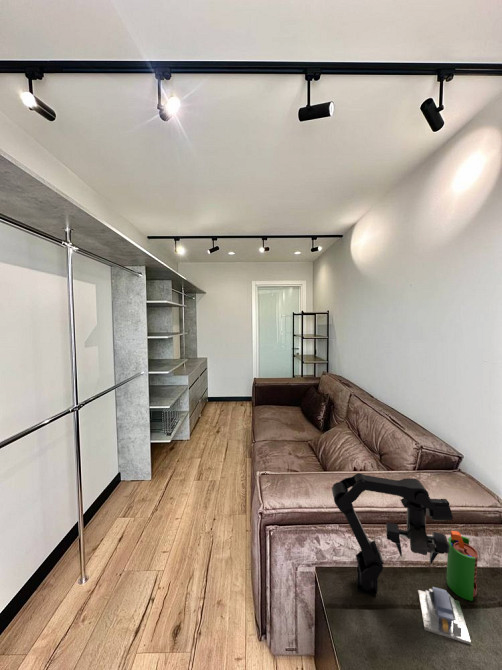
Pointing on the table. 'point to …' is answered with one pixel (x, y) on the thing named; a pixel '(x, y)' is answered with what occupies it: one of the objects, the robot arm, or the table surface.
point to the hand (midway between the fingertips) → (415, 559)
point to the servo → (442, 606)
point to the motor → (462, 566)
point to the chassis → (434, 625)
